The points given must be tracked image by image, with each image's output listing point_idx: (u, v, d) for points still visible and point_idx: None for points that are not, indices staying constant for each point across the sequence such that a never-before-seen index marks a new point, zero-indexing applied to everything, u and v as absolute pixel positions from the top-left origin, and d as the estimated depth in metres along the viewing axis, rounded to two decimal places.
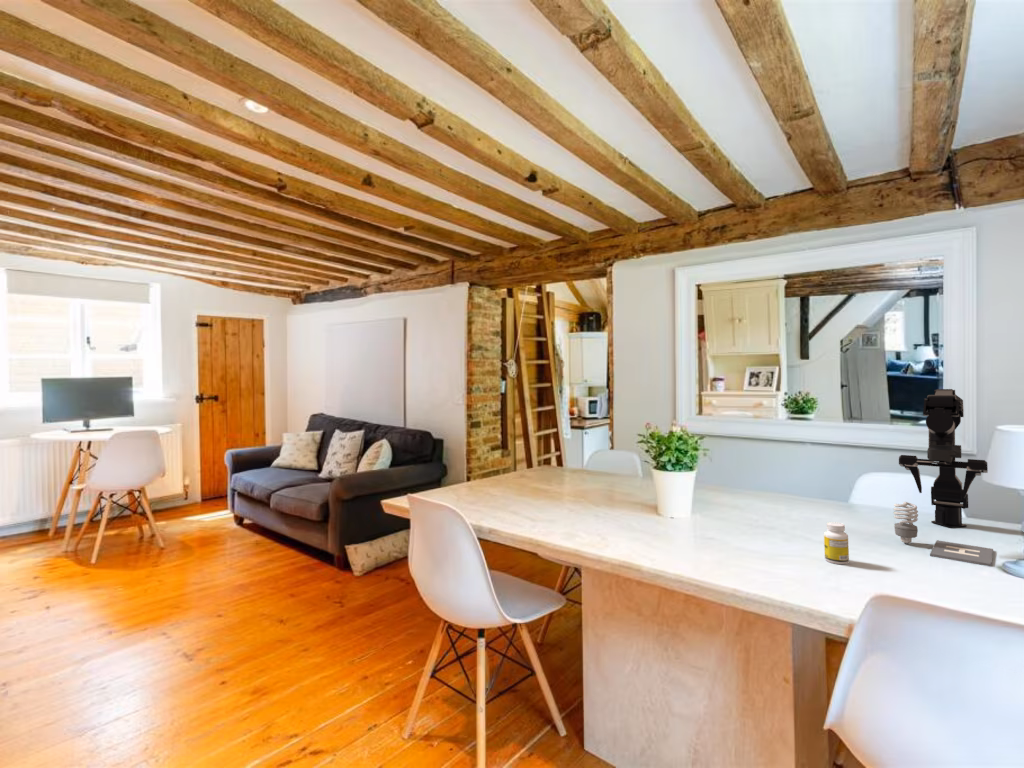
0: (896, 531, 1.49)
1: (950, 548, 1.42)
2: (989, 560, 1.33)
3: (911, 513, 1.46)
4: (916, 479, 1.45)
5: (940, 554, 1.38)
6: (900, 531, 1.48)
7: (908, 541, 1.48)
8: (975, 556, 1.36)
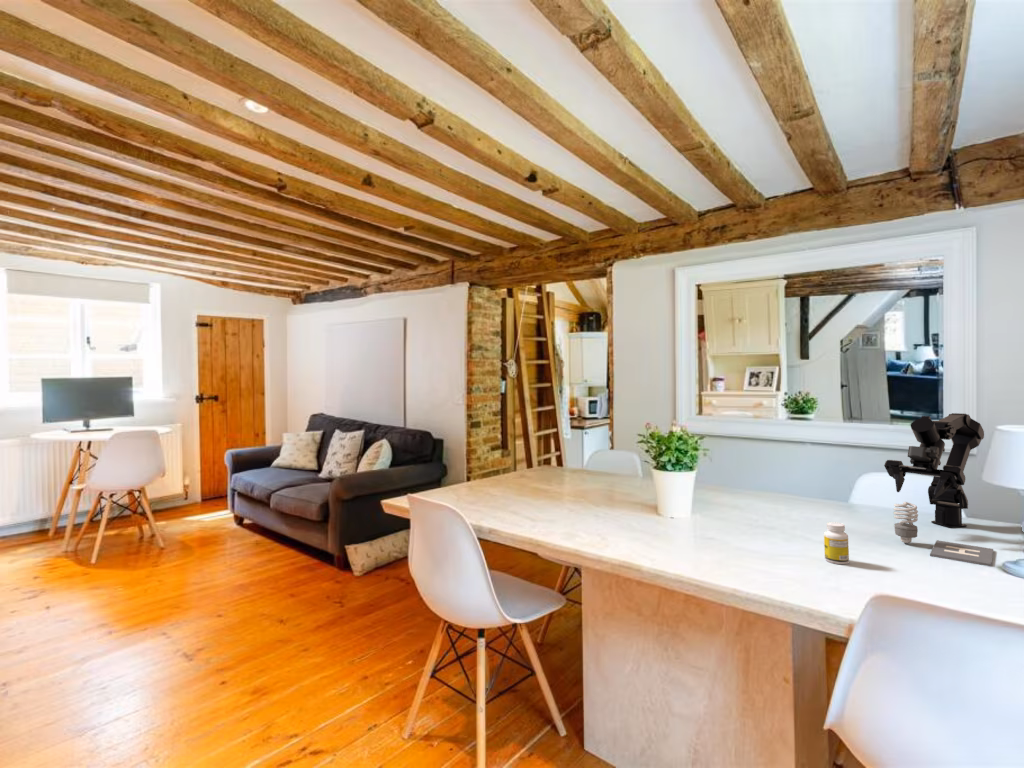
0: (896, 531, 1.49)
1: (950, 548, 1.42)
2: (989, 560, 1.33)
3: (911, 513, 1.46)
4: (896, 479, 1.59)
5: (940, 554, 1.38)
6: (900, 531, 1.48)
7: (908, 541, 1.48)
8: (975, 556, 1.36)
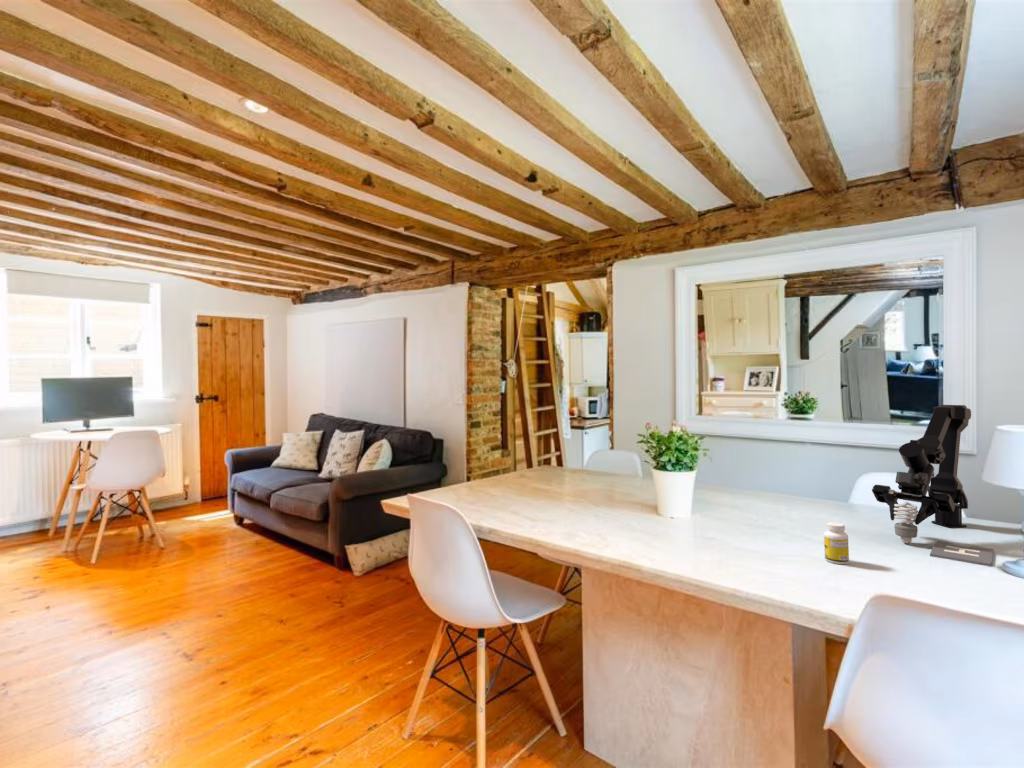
0: (896, 531, 1.49)
1: (950, 548, 1.42)
2: (989, 560, 1.33)
3: (911, 513, 1.46)
4: (890, 506, 1.52)
5: (940, 554, 1.38)
6: (900, 531, 1.48)
7: (908, 541, 1.48)
8: (975, 556, 1.36)
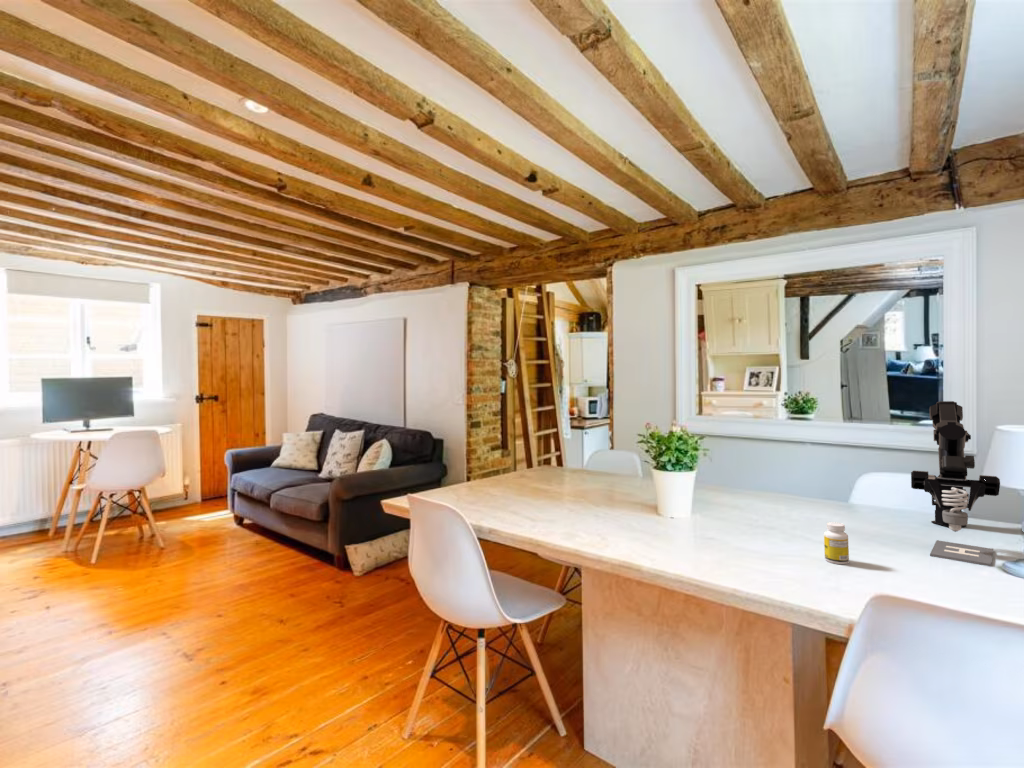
0: (947, 519, 1.40)
1: (950, 548, 1.42)
2: (989, 560, 1.33)
3: (965, 499, 1.38)
4: (936, 493, 1.43)
5: (940, 554, 1.38)
6: (953, 519, 1.39)
7: (959, 529, 1.40)
8: (975, 556, 1.36)
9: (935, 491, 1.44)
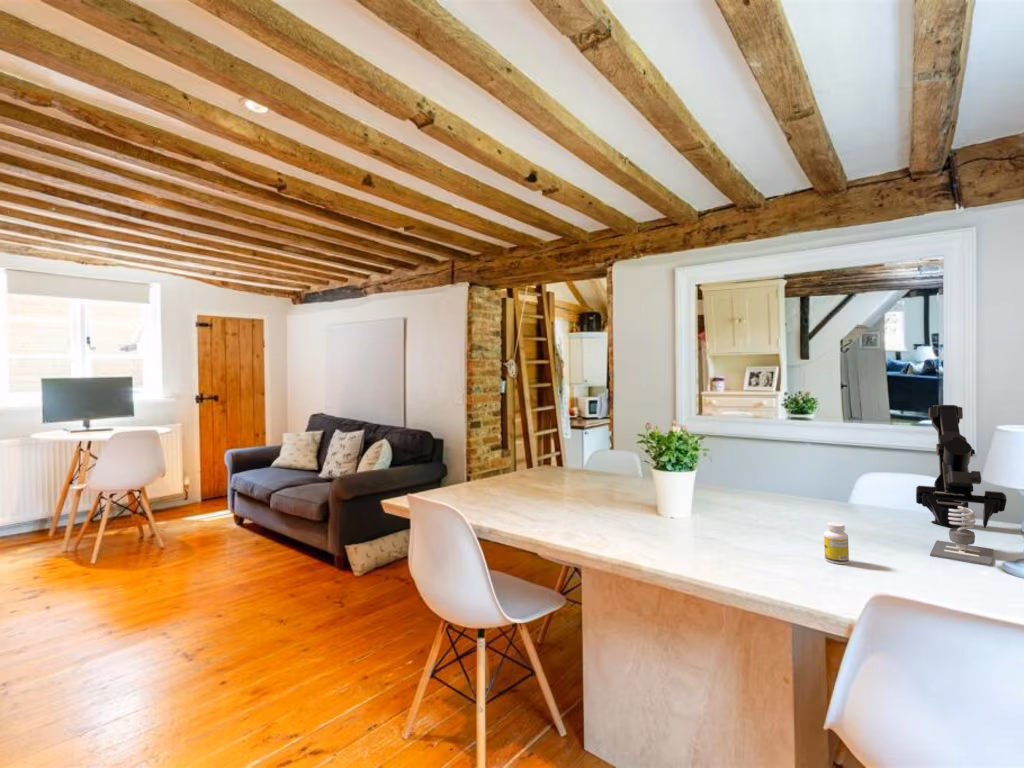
0: (955, 538, 1.39)
1: (950, 548, 1.42)
2: (989, 560, 1.33)
3: (972, 518, 1.37)
4: (935, 508, 1.43)
5: (940, 554, 1.38)
6: (960, 538, 1.38)
7: (966, 548, 1.39)
8: (975, 556, 1.36)
9: (933, 506, 1.44)
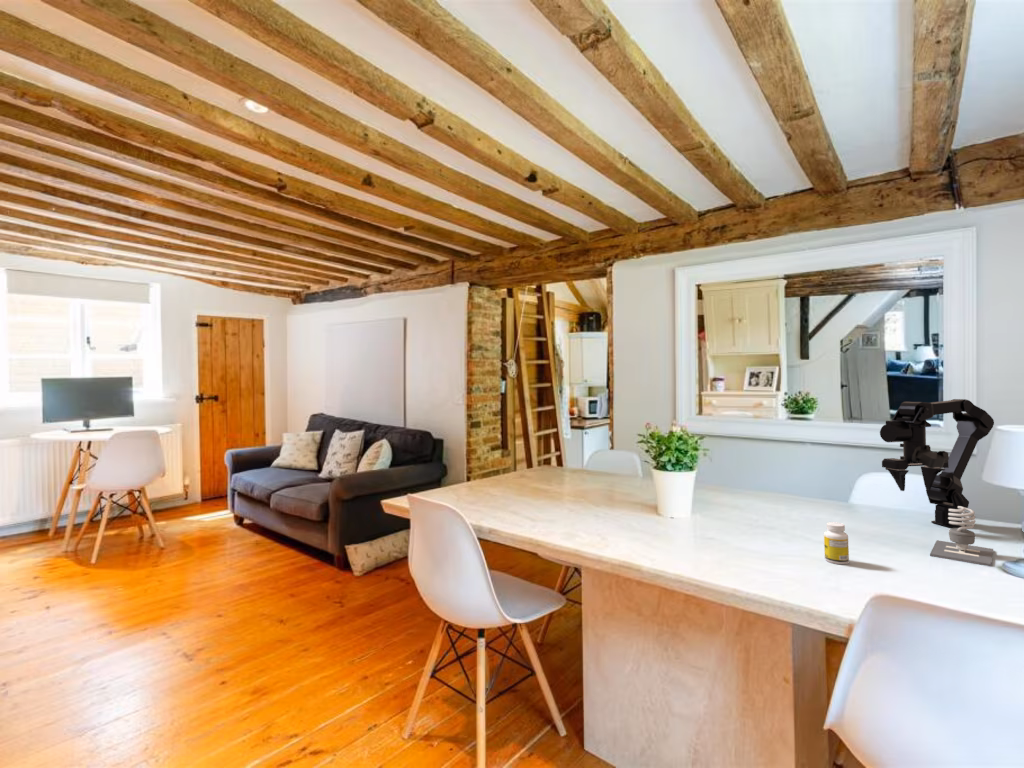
0: (955, 538, 1.39)
1: (950, 548, 1.42)
2: (989, 560, 1.33)
3: (972, 518, 1.38)
4: (903, 480, 1.63)
5: (940, 554, 1.38)
6: (960, 538, 1.38)
7: (966, 548, 1.39)
8: (975, 556, 1.36)
9: (902, 478, 1.63)
